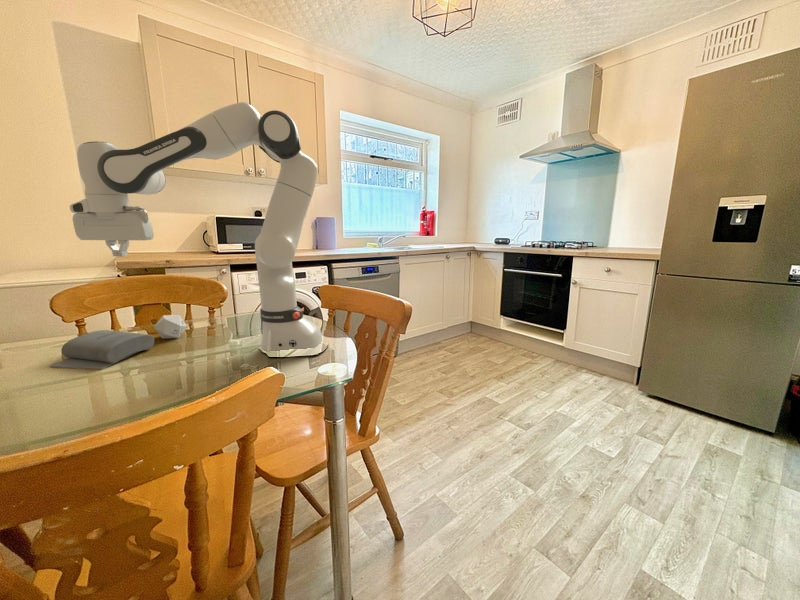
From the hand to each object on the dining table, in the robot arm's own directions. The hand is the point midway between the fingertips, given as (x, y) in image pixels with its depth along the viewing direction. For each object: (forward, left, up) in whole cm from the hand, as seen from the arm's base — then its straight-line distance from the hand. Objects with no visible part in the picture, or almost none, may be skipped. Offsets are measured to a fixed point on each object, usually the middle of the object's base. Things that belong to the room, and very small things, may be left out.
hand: (120, 256), depth 92 cm
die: (+4, -18, -32) cm, 37 cm away
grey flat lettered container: (+3, 0, -28) cm, 29 cm away
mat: (+13, 0, -32) cm, 34 cm away
